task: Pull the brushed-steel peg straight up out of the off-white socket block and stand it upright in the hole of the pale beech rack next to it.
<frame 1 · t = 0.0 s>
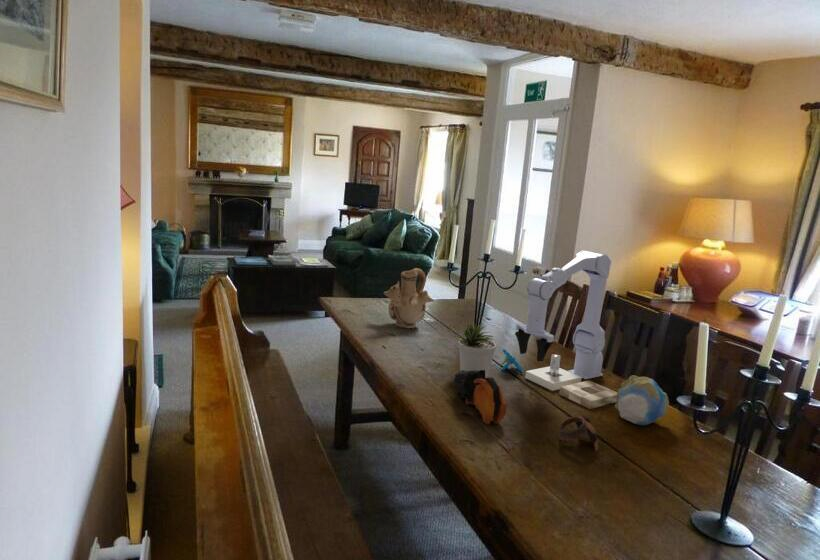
hand: (531, 357, 180), 10 cm above the table, tool pointing down, fingers open, 7 cm apart
tool: (476, 409, 162), on the table
steel peg: (554, 368, 188), in the socket block
beech rack: (588, 397, 176), on the table
pottery mug: (578, 444, 146), on the table
decorative rock: (636, 420, 163), on the table
ceramic vessel: (402, 326, 240), on the table
blue irregular piece: (510, 370, 197), on the table
socket block: (552, 381, 189), on the table
potted plant: (472, 376, 188), on the table
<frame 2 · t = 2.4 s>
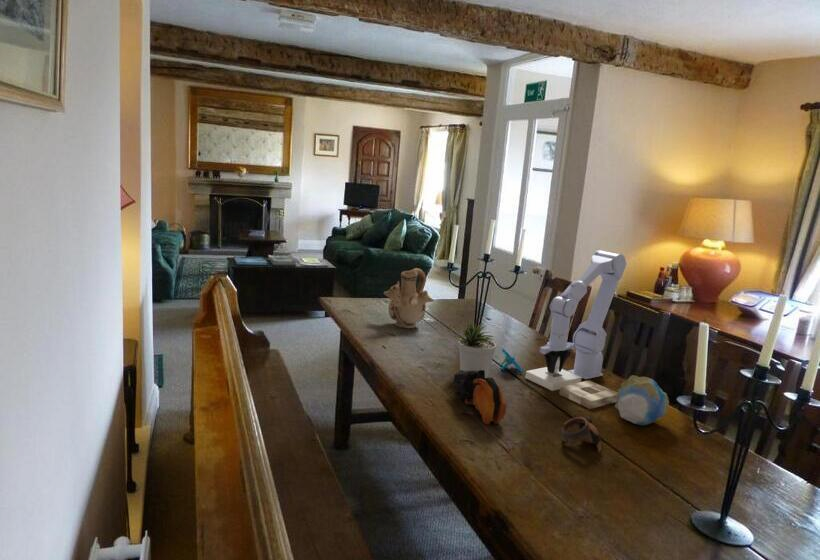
hand: (554, 371, 188), 3 cm above the table, tool pointing down, fingers closed on steel peg, 3 cm apart
steel peg: (554, 368, 188), in the socket block, touching gripper
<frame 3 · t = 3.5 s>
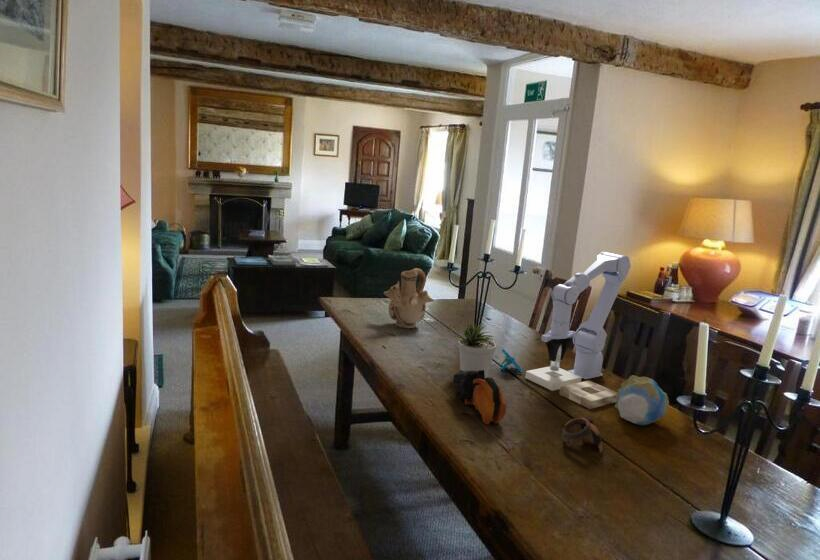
hand: (555, 359, 187), 8 cm above the table, tool pointing down, fingers closed on steel peg, 3 cm apart
steel peg: (556, 356, 187), point 9 cm above the table, touching gripper
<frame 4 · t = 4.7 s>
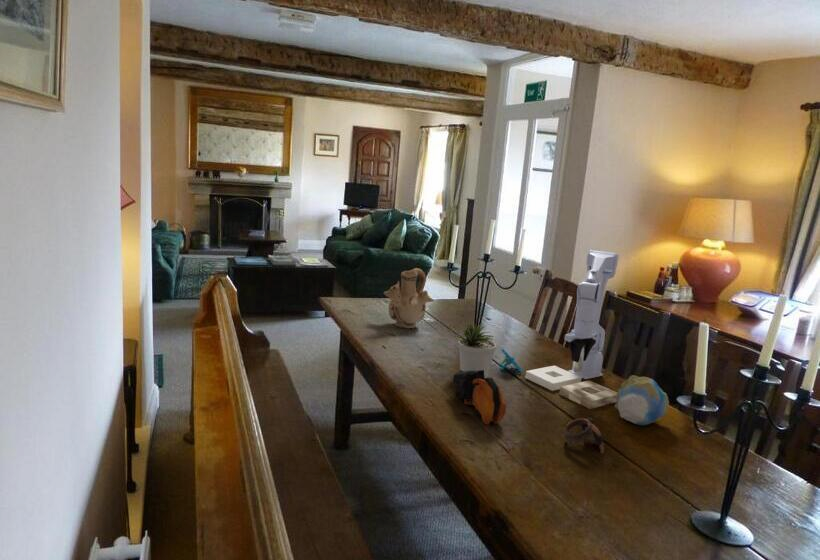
hand: (578, 360, 179), 10 cm above the table, tool pointing down, fingers closed on steel peg, 3 cm apart
steel peg: (578, 357, 179), point 12 cm above the table, touching gripper
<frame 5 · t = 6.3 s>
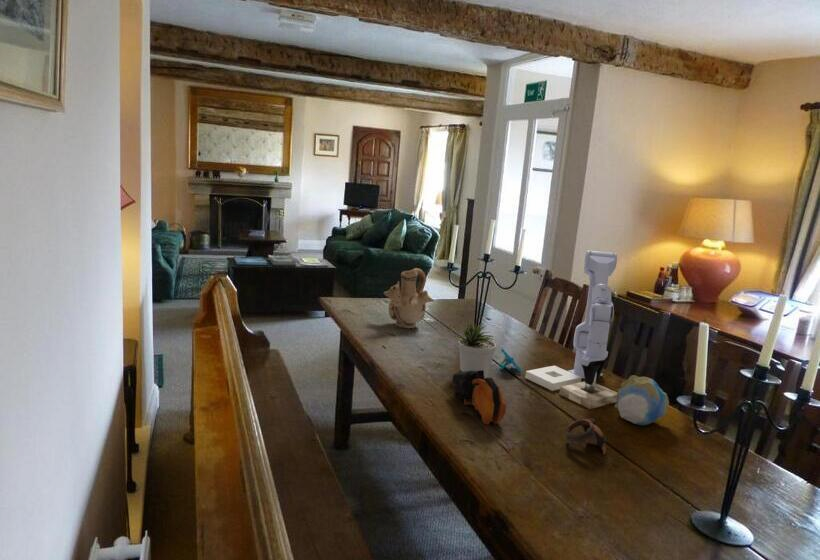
hand: (591, 382, 175), 5 cm above the table, tool pointing down, fingers closed on steel peg, 3 cm apart
steel peg: (590, 379, 175), point 6 cm above the table, touching gripper
when the fingers open (4 cm above the table, at t = 7.2 s): steel peg stays where it is, resting in beech rack.
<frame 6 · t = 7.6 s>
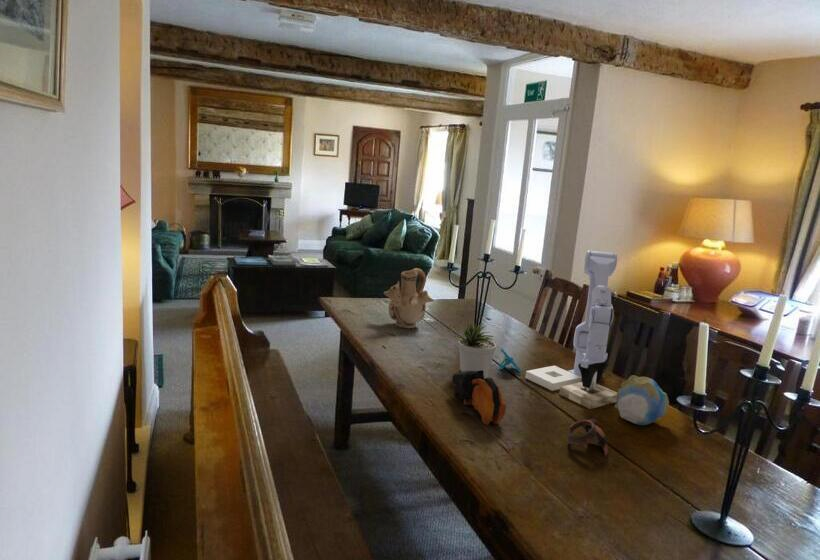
hand: (590, 384, 176), 4 cm above the table, tool pointing down, fingers open, 6 cm apart
steel peg: (590, 384, 176), in the beech rack
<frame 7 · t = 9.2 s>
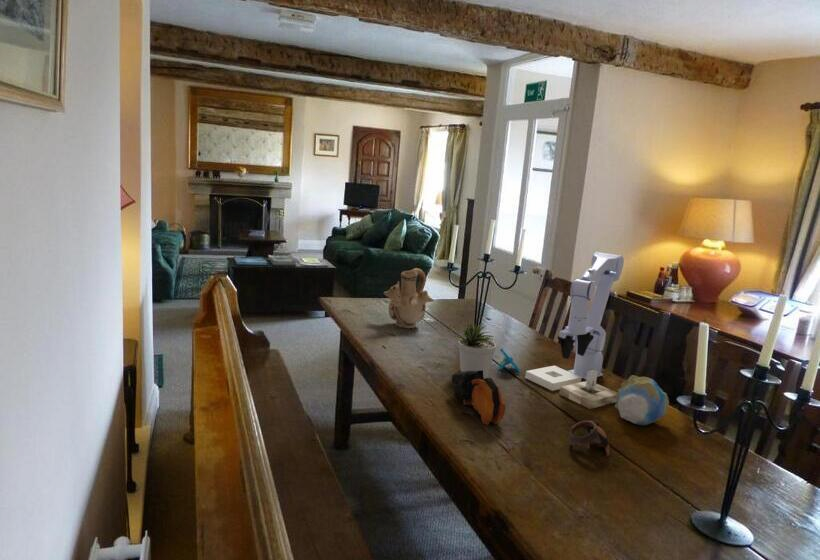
hand: (573, 356, 183), 10 cm above the table, tool pointing down, fingers open, 7 cm apart
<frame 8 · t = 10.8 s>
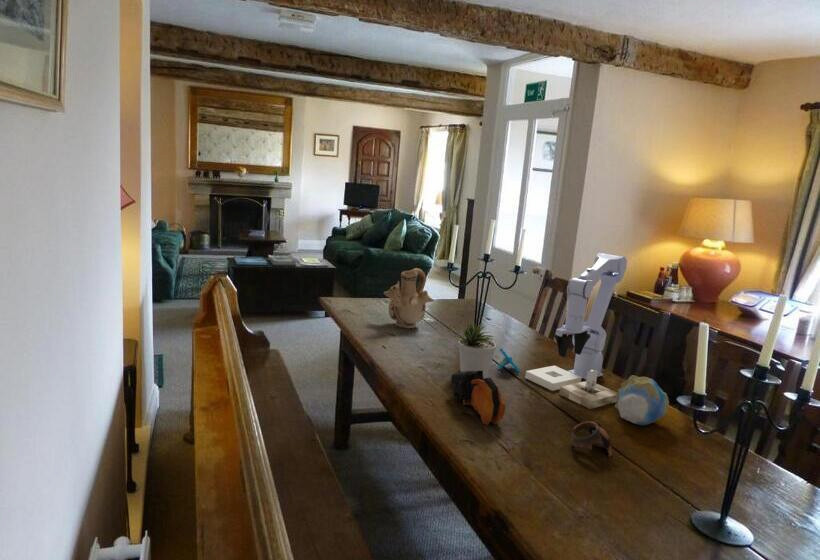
hand: (569, 355, 184), 10 cm above the table, tool pointing down, fingers open, 7 cm apart
at the end: steel peg 0.2 cm off-centre on the beech rack, point 4.5 cm above the beech rack's base; steel peg tilted 1°; the gripper is holding nothing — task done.
